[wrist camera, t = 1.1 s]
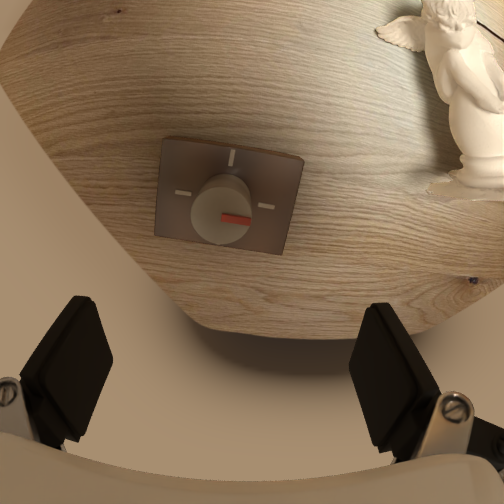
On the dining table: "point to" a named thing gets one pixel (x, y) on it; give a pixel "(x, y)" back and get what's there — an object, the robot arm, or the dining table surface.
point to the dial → (222, 209)
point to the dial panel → (234, 163)
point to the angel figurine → (461, 92)
